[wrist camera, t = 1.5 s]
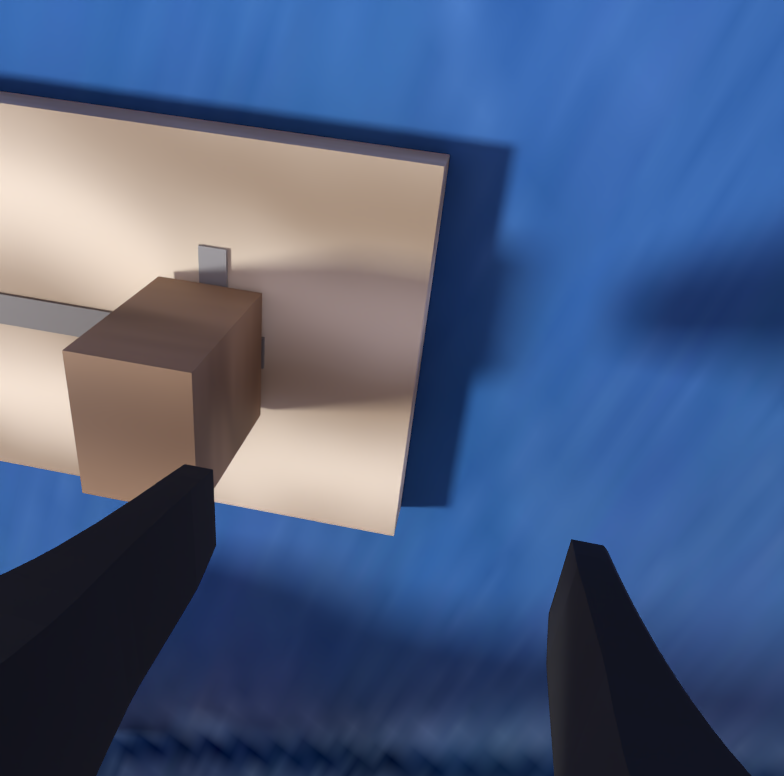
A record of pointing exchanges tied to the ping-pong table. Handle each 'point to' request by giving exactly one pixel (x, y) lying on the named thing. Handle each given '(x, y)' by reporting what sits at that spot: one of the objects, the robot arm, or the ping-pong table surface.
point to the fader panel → (226, 285)
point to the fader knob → (165, 385)
